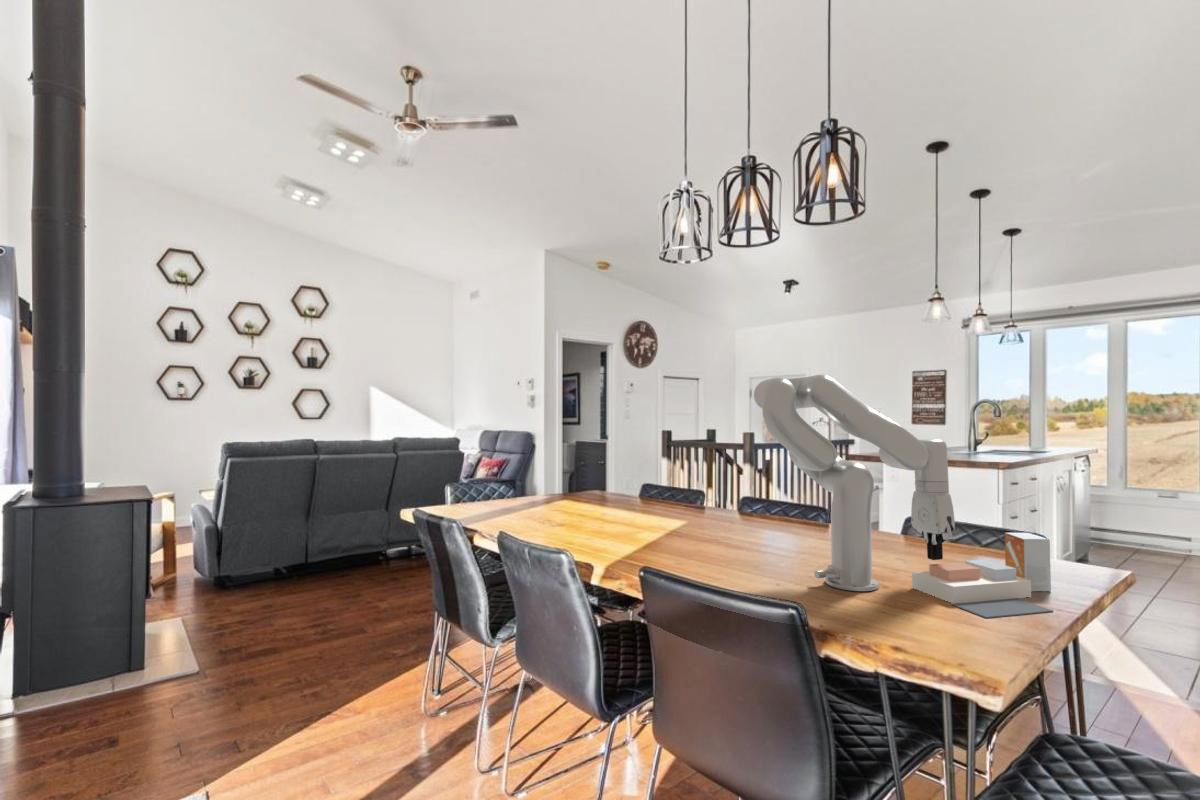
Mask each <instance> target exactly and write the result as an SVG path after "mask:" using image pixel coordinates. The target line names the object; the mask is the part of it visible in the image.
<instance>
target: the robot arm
mask: <svg viewBox="0 0 1200 800" xmlns="http://www.w3.org/2000/svg"><path fill="white" fill-rule="evenodd" d="M753 399H754V401H755V404H756V405H757V406H758V408H761V409H762V416H763V421H764V424H765V426H766V428H767V431H768V433H769V434H770V435H771V436H772V438H774V439H775V440H776V442H778V443H780V445H781V446H782V447H783V448H785V449H786V450H787V451H788V455H789V458H790V459H791V461H792V463H793V464H794V465H795V466H796V467H797V468H798V469H799V470H801V471H802V472H803V473H805V475H807V476H808V477H809V478H810V479H812V480H813V481H814V482H815V483H817V484H818V485H819V486H820V487H821V488H823V489H824V490H826V491H827V492H829V493H832V494H833V496H832V502H831V507H830V509H831V510H830V525H831V526H830V530H831V534H830V537H831V538H830V539H831V544H830V545H831V548H830V549H831V564H830V565H827V568H826V569H824V570H821V569H819V570H815V571H814V577H815V578H816V579H824V578H825V584H827V585H828V586H831V588H832V587H833V588H836V589H840V590H845V591H850V592H870V591H871V592H872V591H875V590H877V589H879V588H880V584H879V582H878V581H877V580H876V579H874V578H873V571H872V570H873V566H872V565H873V563H872V562H873V561H872V559H873V558H872V557H873V556H872V551H873V550H872V503H873V502H872V501H873V496H874V495H873V494H874V488H875V482H874V481H875V480H874V476H873V475H872V473H871V471H870V470H869V469H868V468H867V467H866V466H865V465H863V464H862V463H859V462H856V461H852V460H846V459H843V458H842V457H840V455H838V451H837V449H836V447H835V445H834V443H833V442H831V441H830V440H829V439H828V438H826V436H824V435H823V434H821V433H820V432H819V431H817V430H816V429H815V428H814V427H812V426H811V425H810V424H809V423H808V422H807V421H805V420H804V419H803V418H802V417H801V416H800V415H799V413H798V411H797V409H806V408H807V409H808V408H815V409H817V410H818V411H820V413H822V414H823V415H825V416H826V417H827V418H828V419H830V420H831V421H832V422H833V423H834V424H835V425H837V426H838V427H840V428H841V430H843V431H844V432H846V433H848V434H850V435H851V436H854V437H855V438H858V439H861V440H864V441H866V442H868V443H871V444H872V445H874V446H876V447H878V448H879V450H878V455H879V458H880V461H881V463H883V464H884V465H886V466H887V467H890V468H894V469H899V470H900V469H901V470H906V471H914V485H915V487H914V488H915V490H914V491H913V494H912V497H911V498H912V499H911V510H910V511H911V514H910V515H911V519H910V520H911V522H910V523H911V527H912V528H913V529H914V530H916V532H917V533H918V534H921V535H922V537H923V538H924V542H925V543H926V551H927V552H926V553H927V559H929V560H931V561H938V560H943V557H944V556H943V555H944V553H943V545H944V544H945V541H946V540H952V539H954V537H953V533H955V525H956V524H955V523H956V522H955V512H954V505H953V500H952V497H951V493H950V486H949V485H950V484H949V483H950V482H949V467H948V465H949V464H948V448H947V443H946V442H945V441H944V440H942V439H935V438H931V439H930V438H929V439H928V438H927V439H926V438H925V439H918V438H917V437H916V436H915V435H914V434H912V433H911V432H909V431H908V430H907V429H905V428H904V427H903V426H902V425H900V424H899V423H897V422H895V421H893V420H892V419H891V418H889V417H886V416H885V415H883V414H882V413H880V412H878V411H877V410H875V409H873V408H872V407H870V406H869V405H867V404H866V403H865V402H863V401H862V400H861V399H859V398H858V397H857V396H856V395H855V394H854V393H852V392H851V391H849V390H848V389H847V388H845V387H844V386H843V385H842V384H841V383H839V382H838V381H837V380H836V379H834V378H833V377H831V376H829V375H827V374H817V375H810V376H805V377H796V378H783V377H778V376H777V377H772V378H769V379H764V380H762V381H760V382H759V383H758V384H757V386H756V387H755V389H754V390H753Z"/></svg>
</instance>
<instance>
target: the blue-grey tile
mask: <svg viewBox="0 0 1200 800" xmlns="http://www.w3.org/2000/svg"><path fill="white" fill-rule="evenodd" d="M964 564H967V565H970V566H974V567H977V568H980V576H984V577H987V578H990V579H993V580H1007V579H1016V568H1013V567H1010V566H1006V565H1005V564H1002V563H999V562H994V561H991V560H987V559H984V558H983V559H973V560H964Z"/></svg>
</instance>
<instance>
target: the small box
mask: <svg viewBox="0 0 1200 800" xmlns="http://www.w3.org/2000/svg"><path fill="white" fill-rule="evenodd" d="M1050 541H1051V540H1050V539H1049V538H1047V537H1046V538H1045V537H1044V536H1040V535H1037V534H1034V533H1030V532H1004V548H1005V549H1004V550H1005V552H1004V553H1005V554H1004V557H1005V563H1004V565H1006V566H1010V567H1013V568H1016V576H1017V577H1021V578H1024V579H1028V580H1031V592H1034V591H1049V592H1050V591H1051V592H1052V584H1051V583H1052V582H1051V547H1050V545H1051V544H1050V543H1051V542H1050ZM1049 592H1048V593H1049Z"/></svg>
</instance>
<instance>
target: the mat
mask: <svg viewBox="0 0 1200 800" xmlns="http://www.w3.org/2000/svg"><path fill="white" fill-rule="evenodd" d="M951 605H952V606H953V605H954V606H953V607H955V606H956V607H955V608H958V607H959V608H958V609H960V608H961V610H964V611H966V612H968V613H971V614H974V615H976V616H979V617H981V618H983V619H992V618H993V619H995V618H1004V617H1016V616H1023V615H1024V616H1025V615H1035V614H1045V613H1046V612H1047V613H1054V610H1053V609H1050V608H1047V607H1044V606H1040V605H1038V604H1034V603H1031V602H1028V601H1026V600H1023V599H1021V598H1018V599H1017V598H1013V599H1002V600H990V601H979V602H968V603H957V604H952V603H951ZM1047 613H1046V614H1047Z"/></svg>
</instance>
